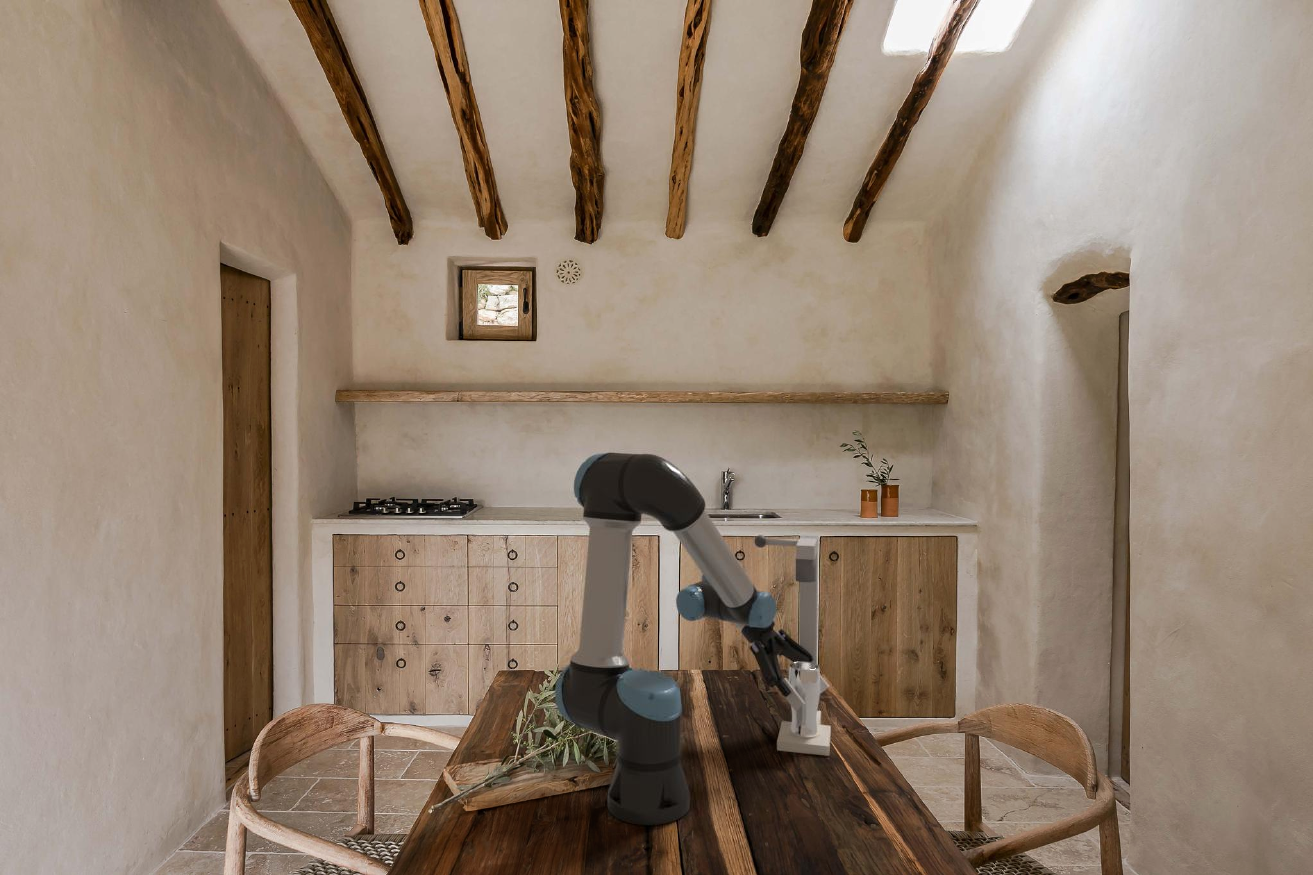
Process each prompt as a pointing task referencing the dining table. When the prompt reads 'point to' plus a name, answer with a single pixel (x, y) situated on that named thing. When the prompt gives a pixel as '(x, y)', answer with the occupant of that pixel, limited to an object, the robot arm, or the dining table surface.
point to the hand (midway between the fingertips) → (813, 698)
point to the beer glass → (805, 698)
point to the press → (804, 635)
